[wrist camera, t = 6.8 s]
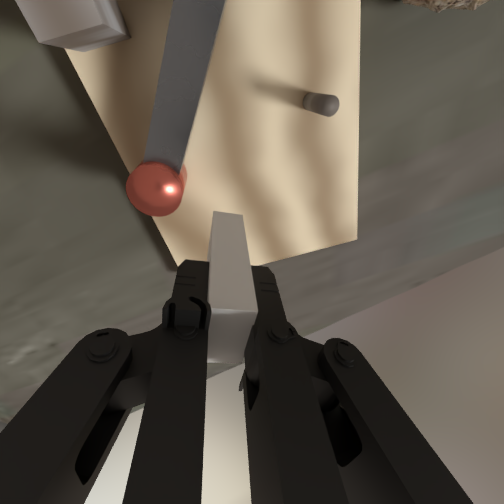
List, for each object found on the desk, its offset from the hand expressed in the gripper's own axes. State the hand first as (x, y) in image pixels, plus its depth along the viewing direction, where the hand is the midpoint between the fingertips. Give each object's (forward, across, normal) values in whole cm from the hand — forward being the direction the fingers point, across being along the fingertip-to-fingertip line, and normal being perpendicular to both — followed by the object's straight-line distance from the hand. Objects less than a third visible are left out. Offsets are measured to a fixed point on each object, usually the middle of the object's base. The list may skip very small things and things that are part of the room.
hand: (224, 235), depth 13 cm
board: (+12, 0, +5) cm, 13 cm away
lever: (+10, -3, +6) cm, 12 cm away
